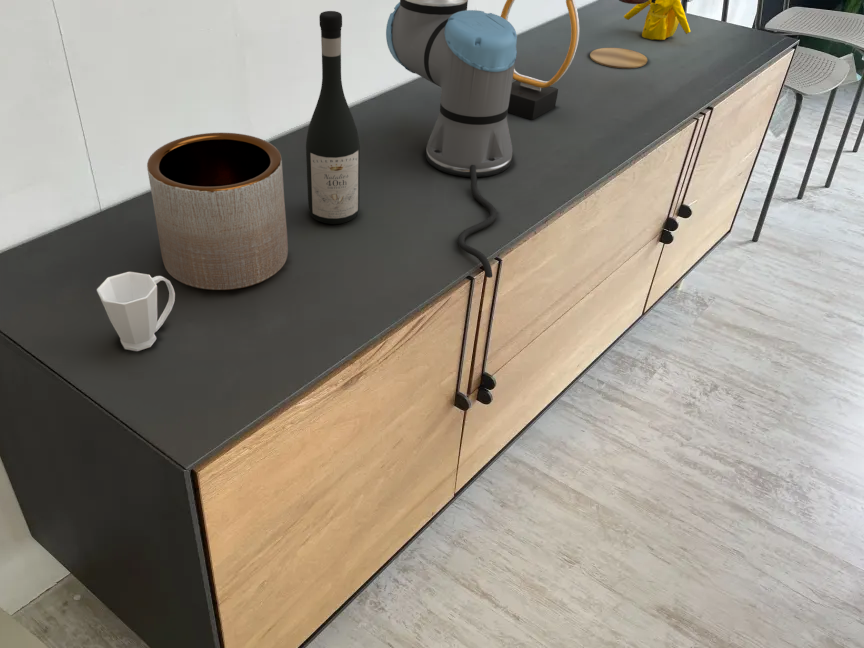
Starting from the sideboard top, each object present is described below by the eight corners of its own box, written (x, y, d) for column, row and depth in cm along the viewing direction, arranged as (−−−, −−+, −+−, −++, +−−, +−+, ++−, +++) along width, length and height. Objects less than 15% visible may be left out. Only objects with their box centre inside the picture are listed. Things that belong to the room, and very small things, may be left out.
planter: (172, 230, 118) (155, 131, 108) (289, 228, 120) (283, 130, 109) (156, 298, 105) (135, 192, 95) (288, 294, 106) (281, 189, 96)
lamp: (478, 103, 159) (497, -73, 139) (502, 91, 165) (524, -80, 144) (549, 125, 151) (581, -57, 131) (572, 112, 156) (606, -66, 136)
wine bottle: (362, 225, 121) (364, 21, 101) (311, 228, 120) (303, 23, 100) (355, 200, 127) (356, 3, 107) (306, 203, 126) (298, 5, 106)
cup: (97, 343, 97) (83, 289, 92) (158, 306, 104) (148, 254, 98) (135, 365, 94) (123, 311, 89) (196, 326, 101) (187, 273, 95)
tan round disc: (645, 71, 175) (646, 69, 175) (587, 64, 178) (587, 62, 178) (648, 53, 185) (648, 51, 185) (592, 46, 188) (592, 45, 187)
